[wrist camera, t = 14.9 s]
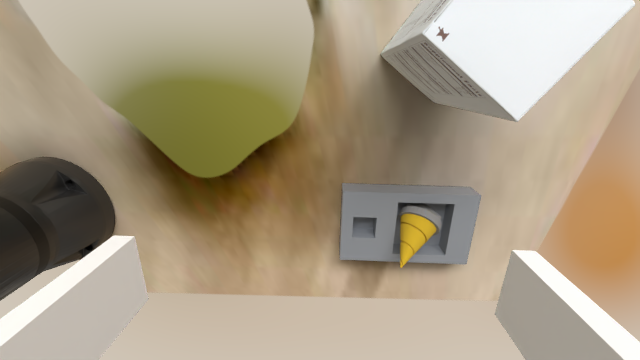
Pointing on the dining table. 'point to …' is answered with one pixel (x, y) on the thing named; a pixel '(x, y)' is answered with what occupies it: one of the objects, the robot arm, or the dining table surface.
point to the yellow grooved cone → (416, 228)
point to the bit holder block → (384, 227)
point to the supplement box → (497, 49)
